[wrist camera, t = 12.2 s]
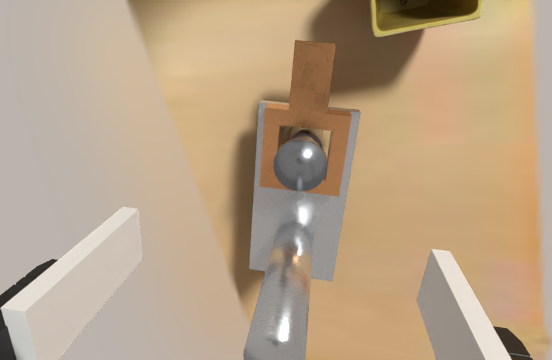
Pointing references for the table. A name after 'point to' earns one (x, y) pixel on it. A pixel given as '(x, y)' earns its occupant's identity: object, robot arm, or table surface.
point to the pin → (301, 160)
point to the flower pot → (419, 14)
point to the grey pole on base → (297, 207)
